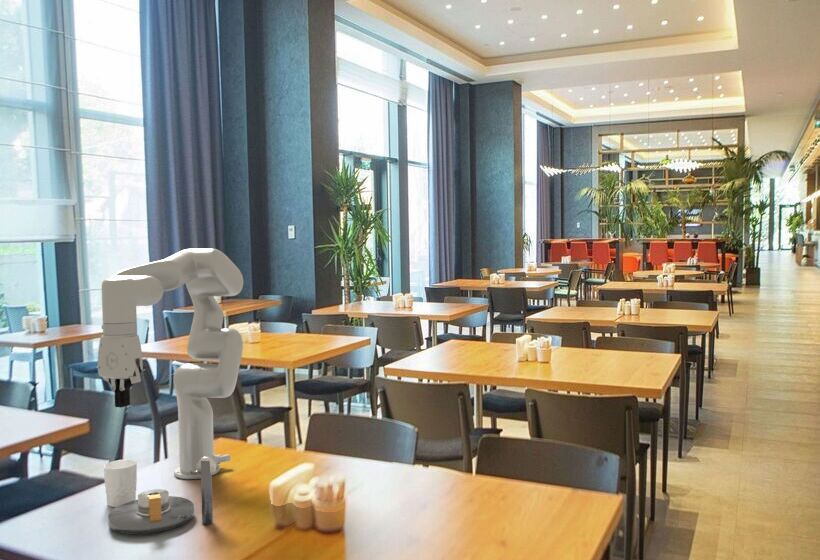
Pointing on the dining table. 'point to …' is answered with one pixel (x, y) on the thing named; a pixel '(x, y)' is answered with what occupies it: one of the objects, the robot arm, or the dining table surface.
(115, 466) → the white cup
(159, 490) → the cover
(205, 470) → the dial post
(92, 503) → the dining table surface
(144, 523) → the turntable
